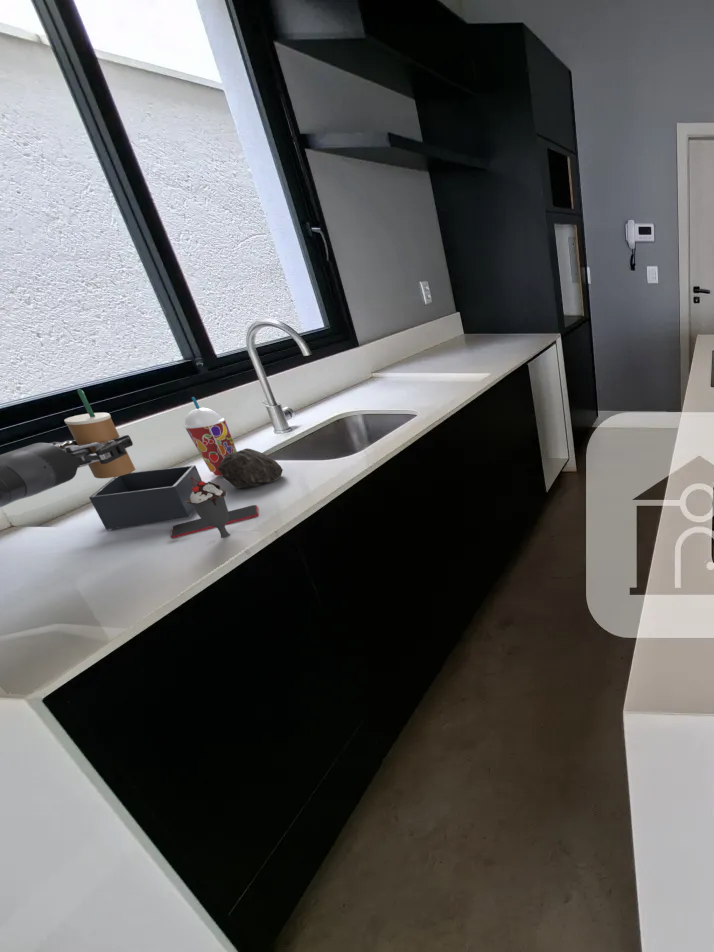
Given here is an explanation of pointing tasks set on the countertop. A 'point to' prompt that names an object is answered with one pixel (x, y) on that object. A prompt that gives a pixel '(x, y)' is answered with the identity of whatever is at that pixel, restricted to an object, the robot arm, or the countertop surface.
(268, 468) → the rock
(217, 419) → the smoothie
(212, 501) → the sundae
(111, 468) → the takeaway cup
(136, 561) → the countertop surface
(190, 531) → the smartphone
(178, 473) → the bin
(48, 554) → the countertop surface
